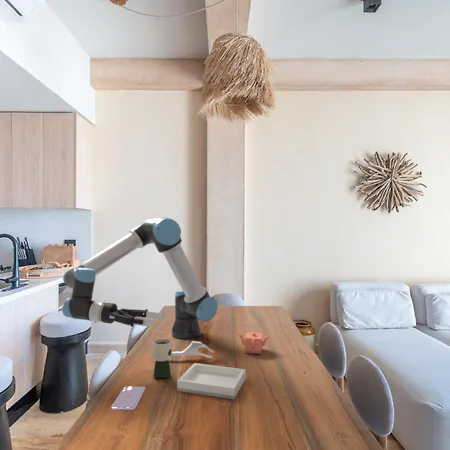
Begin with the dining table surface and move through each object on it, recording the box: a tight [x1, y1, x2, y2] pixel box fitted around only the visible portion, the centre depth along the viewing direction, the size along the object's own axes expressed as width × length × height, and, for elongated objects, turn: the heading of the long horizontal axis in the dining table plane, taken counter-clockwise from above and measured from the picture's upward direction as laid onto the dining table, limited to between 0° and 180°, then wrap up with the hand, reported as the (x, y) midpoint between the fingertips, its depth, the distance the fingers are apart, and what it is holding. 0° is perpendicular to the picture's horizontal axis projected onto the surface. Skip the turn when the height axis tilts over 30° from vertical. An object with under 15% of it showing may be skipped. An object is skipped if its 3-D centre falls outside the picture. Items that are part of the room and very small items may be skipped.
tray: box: [176, 362, 247, 400], centre depth 127 cm, size 16×20×4 cm
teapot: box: [236, 331, 271, 355], centre depth 161 cm, size 12×15×8 cm
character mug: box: [152, 338, 173, 379], centre depth 134 cm, size 11×7×13 cm, turn 8°
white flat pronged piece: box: [169, 340, 215, 362], centre depth 151 cm, size 2×11×18 cm
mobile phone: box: [110, 385, 146, 411], centre depth 117 cm, size 8×1×15 cm
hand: (157, 319), depth 137 cm, fingers open, 13 cm apart
